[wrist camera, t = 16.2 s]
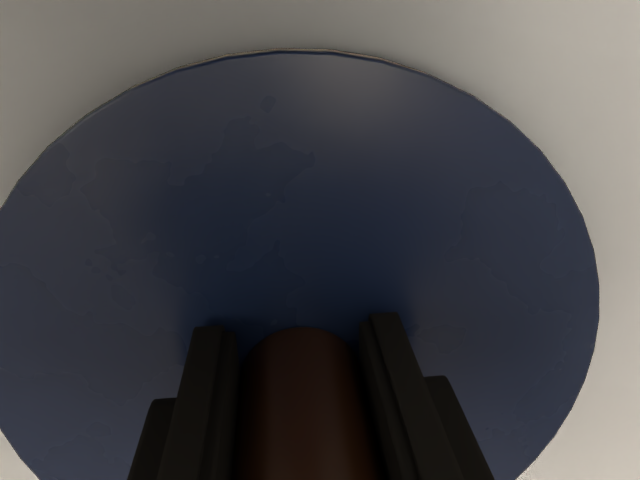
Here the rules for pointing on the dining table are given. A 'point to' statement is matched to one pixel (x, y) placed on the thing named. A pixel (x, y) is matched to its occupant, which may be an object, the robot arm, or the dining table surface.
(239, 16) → the dining table surface
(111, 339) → the tin lid
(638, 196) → the dining table surface
